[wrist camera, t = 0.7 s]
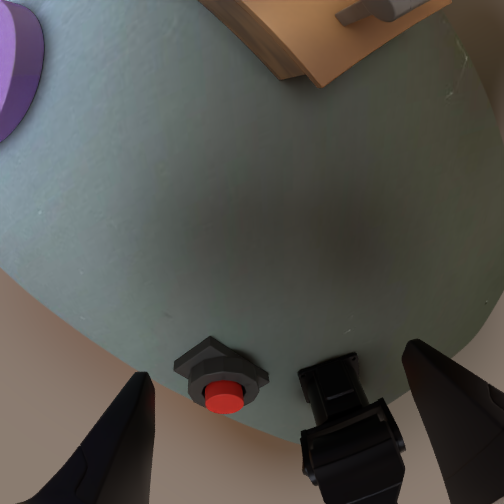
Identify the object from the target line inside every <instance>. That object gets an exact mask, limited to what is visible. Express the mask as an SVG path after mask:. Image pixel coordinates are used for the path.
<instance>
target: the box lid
mask: <svg viewBox="0 0 504 504" xmlns="http://www.w3.org/2000/svg"><path fill="white" fill-rule="evenodd" d="M235 1H236V2H237V3H238V4H239V5H240V6H241V7H243V8H244V9H245V10H246V11H247V12H248V13H249V14H250V15H251V16H252V17H253V18H254V19H255V20H256V21H257V22H258V23H259V24H260V25H261V26H262V27H263V28H264V29H265V30H266V31H267V32H268V33H269V34H270V35H271V36H272V37H273V38H274V39H275V40H276V41H277V42H278V43H279V44H280V46H281V47H282V48H283V49H284V50H285V51H286V52H287V53H288V54H289V55H290V57H291V58H292V59H293V60H294V61H295V62H296V63H297V64H298V66H299V67H300V68H301V69H302V70H303V71H304V73H305V74H306V75H307V76H308V77H309V79H310V80H311V81H312V82H313V83H314V85H315V86H316V87H317V88H323V87H325V86H326V85H327V84H329V83H330V82H331V81H333V80H334V79H335V78H337V77H338V76H339V75H341V74H342V73H344V72H345V71H346V70H348V69H349V68H350V67H352V66H353V65H355V64H356V63H357V62H359V61H360V60H362V59H363V58H365V57H366V56H367V55H369V54H370V53H372V52H373V51H375V50H376V49H378V48H379V47H381V46H382V45H384V44H385V43H387V42H388V41H390V40H391V39H393V38H394V37H396V36H397V35H399V34H400V33H402V32H404V31H405V30H407V29H408V28H410V27H411V26H413V25H415V24H416V23H418V22H420V21H421V20H423V19H425V18H426V17H428V16H430V15H431V14H433V13H435V12H436V11H438V10H440V9H442V8H443V7H445V6H447V5H449V4H450V3H452V1H451V0H235Z"/></svg>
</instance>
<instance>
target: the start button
mask: <svg viewBox="0 0 504 504" xmlns="http://www.w3.org/2000/svg"><path fill="white" fill-rule="evenodd" d="M205 405H206V408H207V409H208V410H210V411H212V412H214V413H219V414H229V413H234V412H236V411H239V410H240V409H241V408H242V407H243V405H244V398H243V390H242V386H241V385H240V384H239V383H238V382H235V381H228V380H220V381H215V382H211V383H209V384H208V385H207V386H206V388H205Z"/></svg>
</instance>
